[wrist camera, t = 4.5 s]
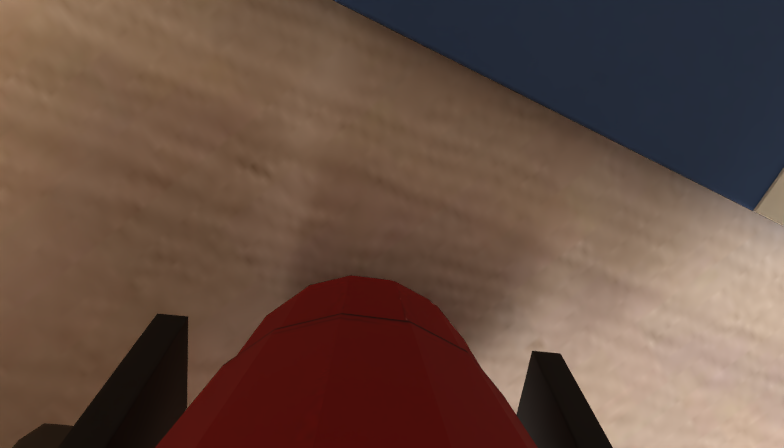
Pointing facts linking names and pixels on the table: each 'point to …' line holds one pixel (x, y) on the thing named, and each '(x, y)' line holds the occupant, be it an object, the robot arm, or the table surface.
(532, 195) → the table surface
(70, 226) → the table surface
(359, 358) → the plastic cup
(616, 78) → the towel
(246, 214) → the table surface
